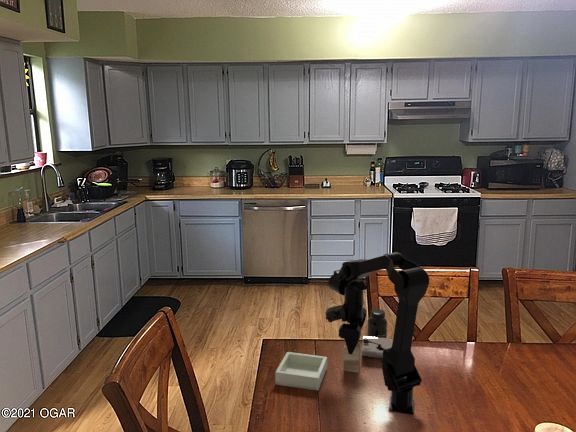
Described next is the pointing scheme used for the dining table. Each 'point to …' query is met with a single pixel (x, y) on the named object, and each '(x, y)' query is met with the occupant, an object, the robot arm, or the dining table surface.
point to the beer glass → (375, 346)
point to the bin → (301, 371)
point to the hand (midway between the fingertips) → (352, 347)
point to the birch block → (352, 359)
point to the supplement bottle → (377, 324)
